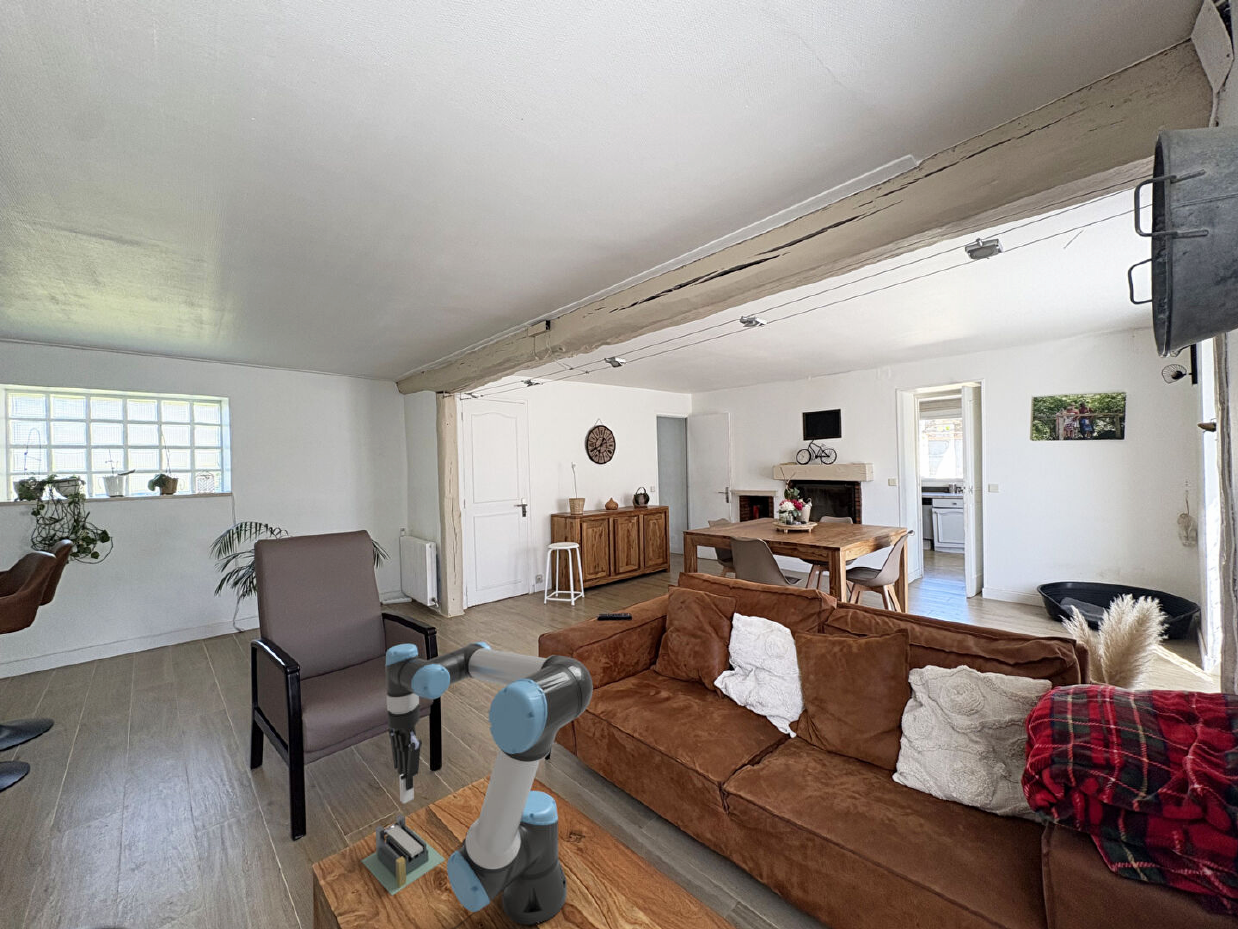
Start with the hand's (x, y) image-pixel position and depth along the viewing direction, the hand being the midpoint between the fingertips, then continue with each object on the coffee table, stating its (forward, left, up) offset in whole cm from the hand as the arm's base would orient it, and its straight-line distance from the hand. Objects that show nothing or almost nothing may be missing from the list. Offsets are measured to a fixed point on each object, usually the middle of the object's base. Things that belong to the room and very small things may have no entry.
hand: (407, 799), depth 131 cm
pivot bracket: (+10, 0, -17) cm, 20 cm away
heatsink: (+3, 0, -17) cm, 17 cm away
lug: (-4, +4, -17) cm, 18 cm away
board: (+3, 0, -18) cm, 19 cm away
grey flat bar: (+3, 0, -12) cm, 13 cm away
